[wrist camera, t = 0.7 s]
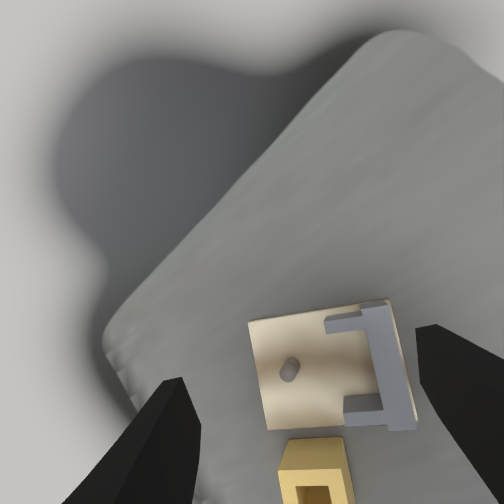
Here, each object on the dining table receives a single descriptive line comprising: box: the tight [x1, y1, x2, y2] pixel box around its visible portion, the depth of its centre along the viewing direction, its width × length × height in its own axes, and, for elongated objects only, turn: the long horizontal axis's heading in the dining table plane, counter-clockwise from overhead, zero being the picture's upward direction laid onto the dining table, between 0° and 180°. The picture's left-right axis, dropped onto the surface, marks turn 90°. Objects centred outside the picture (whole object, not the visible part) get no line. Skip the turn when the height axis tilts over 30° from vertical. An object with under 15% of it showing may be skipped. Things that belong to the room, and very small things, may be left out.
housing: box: [324, 301, 418, 431], centre depth 26 cm, size 9×5×4 cm, turn 12°
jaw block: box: [278, 437, 355, 504], centre depth 27 cm, size 5×5×5 cm
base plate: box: [248, 299, 418, 430], centre depth 28 cm, size 10×13×4 cm
